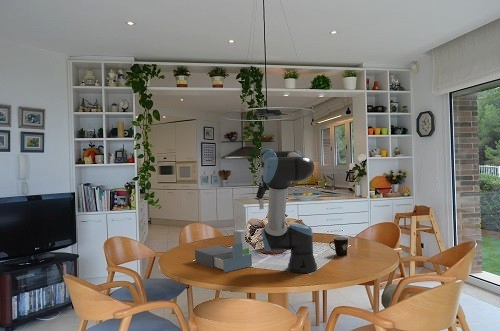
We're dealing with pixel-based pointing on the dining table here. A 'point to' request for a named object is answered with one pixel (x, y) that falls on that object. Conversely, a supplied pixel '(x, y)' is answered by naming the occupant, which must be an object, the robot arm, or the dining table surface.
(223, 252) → the slate blue box
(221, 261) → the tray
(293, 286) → the dining table surface
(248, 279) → the dining table surface
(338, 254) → the coffee mug
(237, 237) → the skincare box
